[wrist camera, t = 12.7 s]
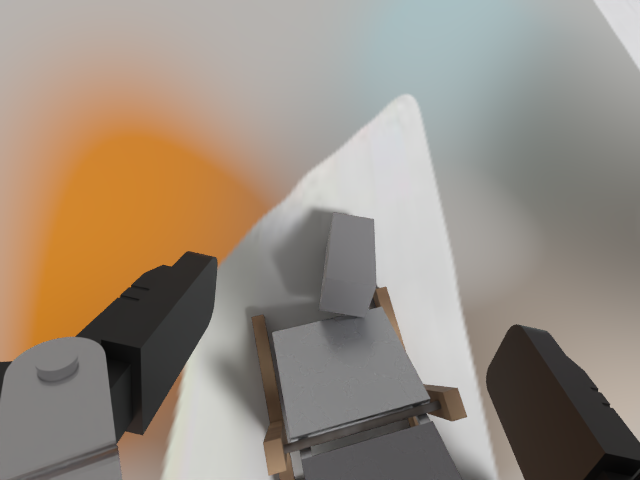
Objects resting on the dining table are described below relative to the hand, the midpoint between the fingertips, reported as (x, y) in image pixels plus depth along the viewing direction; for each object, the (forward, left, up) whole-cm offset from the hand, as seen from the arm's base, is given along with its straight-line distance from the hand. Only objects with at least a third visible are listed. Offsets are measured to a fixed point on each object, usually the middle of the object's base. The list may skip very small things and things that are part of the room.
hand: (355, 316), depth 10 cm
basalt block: (-4, -4, -23) cm, 24 cm away
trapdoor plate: (-3, +5, -23) cm, 24 cm away
